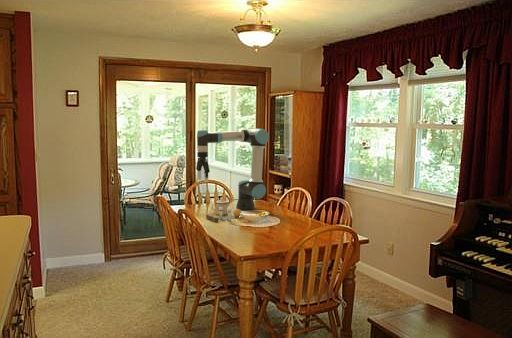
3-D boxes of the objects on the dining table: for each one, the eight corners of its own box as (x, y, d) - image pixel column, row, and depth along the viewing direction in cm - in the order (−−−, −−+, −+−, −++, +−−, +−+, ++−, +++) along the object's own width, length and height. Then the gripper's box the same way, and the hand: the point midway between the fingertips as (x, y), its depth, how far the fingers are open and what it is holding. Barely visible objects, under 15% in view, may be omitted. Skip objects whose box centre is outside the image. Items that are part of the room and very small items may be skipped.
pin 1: (221, 218, 327) (221, 207, 326) (223, 219, 325) (223, 207, 324) (218, 219, 326) (218, 207, 325) (220, 219, 324) (220, 208, 323)
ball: (238, 215, 338) (238, 207, 337) (242, 217, 333) (242, 209, 332) (231, 216, 334) (231, 208, 334) (235, 218, 329) (236, 210, 329)
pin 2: (230, 220, 323) (230, 208, 322) (231, 220, 321) (231, 208, 320) (227, 220, 322) (227, 208, 321) (228, 221, 320) (228, 209, 319)
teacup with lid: (227, 212, 350) (227, 197, 349) (228, 214, 341) (228, 199, 340) (211, 212, 348) (211, 197, 347) (212, 215, 339) (212, 199, 338)
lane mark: (237, 215, 339) (237, 215, 339) (243, 217, 332) (243, 217, 332) (216, 218, 328) (216, 218, 328) (222, 220, 322) (222, 220, 322)
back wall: (206, 218, 327) (206, 214, 327) (208, 218, 328) (208, 214, 328) (215, 222, 315) (215, 218, 315) (218, 222, 317) (218, 217, 316)
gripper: (191, 150, 332) (192, 179, 335) (204, 152, 310) (204, 183, 313) (201, 150, 336) (201, 178, 338) (214, 152, 314) (214, 182, 316)
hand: (202, 181), depth 326 cm, fingers open, 13 cm apart
